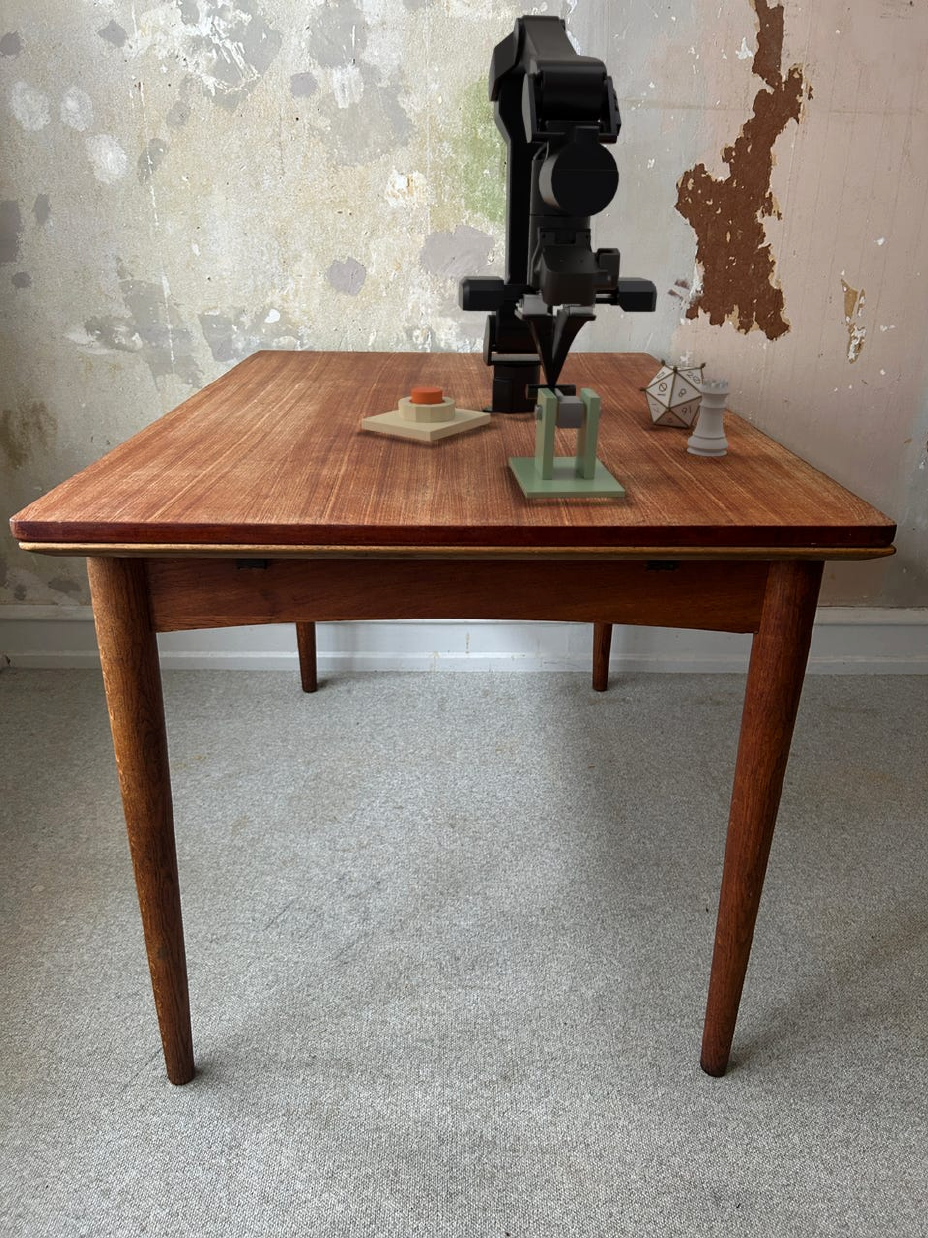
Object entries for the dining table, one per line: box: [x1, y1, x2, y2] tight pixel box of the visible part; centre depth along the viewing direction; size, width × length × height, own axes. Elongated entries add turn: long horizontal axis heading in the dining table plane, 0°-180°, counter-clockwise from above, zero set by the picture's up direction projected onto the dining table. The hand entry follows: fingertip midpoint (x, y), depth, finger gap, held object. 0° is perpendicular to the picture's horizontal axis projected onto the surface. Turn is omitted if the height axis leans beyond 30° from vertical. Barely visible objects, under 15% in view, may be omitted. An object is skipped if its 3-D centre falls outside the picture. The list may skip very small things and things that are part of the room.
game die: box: [637, 358, 707, 430], centre depth 106 cm, size 9×8×10 cm
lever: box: [526, 383, 583, 430], centre depth 86 cm, size 11×5×2 cm, turn 5°
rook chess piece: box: [686, 378, 732, 457], centre depth 94 cm, size 4×4×8 cm
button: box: [410, 386, 443, 405], centre depth 104 cm, size 4×4×2 cm
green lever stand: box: [508, 387, 626, 499], centre depth 84 cm, size 12×9×9 cm
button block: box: [360, 395, 491, 442], centre depth 105 cm, size 12×10×4 cm
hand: (551, 384), depth 90 cm, fingers closed, pressing on lever
